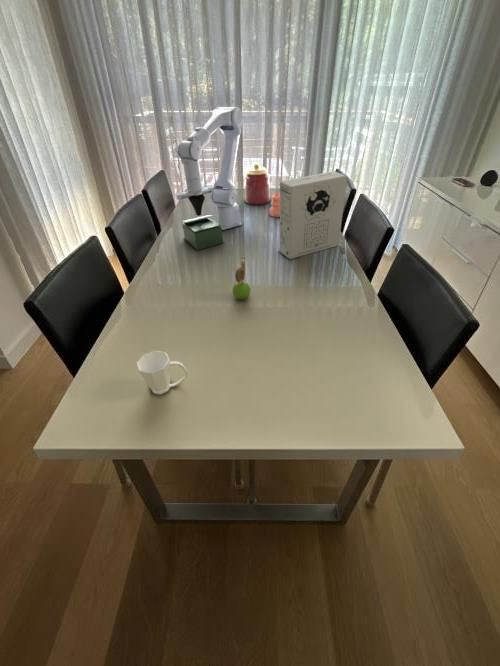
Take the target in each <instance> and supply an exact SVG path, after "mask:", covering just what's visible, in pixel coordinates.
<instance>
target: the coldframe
mask: <svg viewBox="0 0 500 666" xmlns="http://www.w3.org/2000/svg"><path fill="white" fill-rule="evenodd" d="M196 223H200V224H196ZM181 224H182V230H183V236H184V240H185V241H187V243H189V244H190V245H191V246H192V247H193V248H194V249H195V250H196V251H198V250H202V249H206V248H209V247H213V246H216V245H220V244H223V243H224V240H223V232H222V231H223V230H222V229H221V225H220V224H219V223H218V221H216V220H215V219H211V218H210V217H208V218H204V219H200V220H196V221H192V222H188V223H185V222H182V223H181ZM194 224H196V225H194ZM203 230H205V231H203ZM199 231H201V232H199ZM195 232H197V233H195Z"/></svg>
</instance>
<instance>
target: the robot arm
mask: <svg viewBox="0 0 500 666" xmlns="http://www.w3.org/2000/svg"><path fill="white" fill-rule="evenodd" d="M243 123H244V116H243V113H242V110H241V108H240V107H239V106H217V107H215V109H213V110H212V114H211V117H210V118H209V119H208V121H207V122H206V123H205V124H204V126H196V127H195V128H194V131H193V132H192V133H191V134H190V135H189V136H188V137H187V139H186V140H182V141H181V142H179V144H178V146H177V151H176V152H177V156H178V157H179V158H180V162H181V164H182V166H183V171H184V172H183V173H184V179H185V184H186V190H184V191H180V192H177V193H176V194H175V195H176V199H177V200H178V201H181V200H185V199H188V201H189V202H190V204H191V205H192V207H193V210H194V213H195V215H196V216H197V217H201V216H202V211H203V205H204V202H205V198H206V196H205V195H206V194H210V200H211V201H212V203H214V206H215V208H216V218H217V223H219V224H220V225H221V230H222V231H224V230H228V229H231V228H235V227H239V226H242V223H241V213H240V212H241V211H240V207H239V205H238V203H237V196H238V195H237V189H238V188H237V186H236V185H235V184H234V183H233V179H234V172H235V167H236V160H237V156H238V155H237V154H238V148H239V143H240V137H241V134H242V127H243ZM218 129H219V131H220V132H221V133H222V134H223V136H224V137H225V141H224V146H223V153H222V159H221V166H220V173H219V179H218V180H217V181H215V182H214V183H213V186H206V187H205V186H204V187H203V181H202V174H201V173H202V172H201V166H200V159H201V156H202V152H203V149H204V148H206V146H207V145H208V144H209V143H210V141H211V136H212V135H213V134H214V133H215V132H216V131H217V130H218Z"/></svg>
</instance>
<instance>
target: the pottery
mask: <svg viewBox="0 0 500 666" xmlns="http://www.w3.org/2000/svg"><path fill="white" fill-rule="evenodd" d="M270 204H271V207H270V208H269V215H270V217H273V218H280V191H279V192H278V191H276V192H275V193H274V194H273V195H272V196H271V202H270Z"/></svg>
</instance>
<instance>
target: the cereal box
mask: <svg viewBox="0 0 500 666" xmlns="http://www.w3.org/2000/svg"><path fill="white" fill-rule="evenodd" d="M347 180H348V175H346V174H343V173H341V172H338V171H334V170H332V171H328V172H322V173H315V174H311V175H306V176H300V177H295V178H291V179H286V180H281V181H280V182H279V195H280V217H279V252H280V253H281V254H282V255H283V256H285V257H286V258H287V259H289V260H292V259H296V258H299V257H302V256H306V255H310V254H314V253H318V252H320V251H325V250H327V249H332V248H335V247H338V246H340V238H341V230H342V221H343V213H344V206H345V198H346V197H345V196H346V188H347V182H348V181H347Z"/></svg>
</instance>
